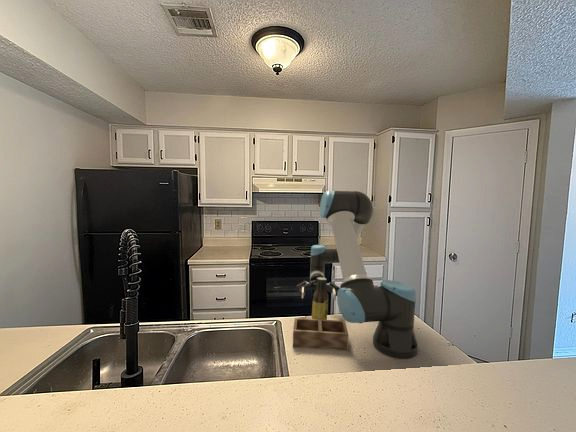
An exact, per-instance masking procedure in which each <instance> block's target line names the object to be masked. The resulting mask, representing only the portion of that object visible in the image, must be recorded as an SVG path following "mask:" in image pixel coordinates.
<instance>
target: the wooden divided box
mask: <svg viewBox="0 0 576 432" xmlns="http://www.w3.org/2000/svg"><path fill="white" fill-rule="evenodd" d="M348 345H349V332H348V327H347V324H346V320H337V319H336V320H335V319H334V320H333V319H327V320H321V319H312V318H301V317H295V318H294V320H293V329H292V347H293V348H299V349H300V348H301V349H304V348H306V349H315V350H316V349H318V350H331V351H332V350H333V351H344V352H345V351H346V352H348V349H349V346H348Z"/></svg>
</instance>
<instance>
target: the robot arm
mask: <svg viewBox="0 0 576 432" xmlns="http://www.w3.org/2000/svg"><path fill="white" fill-rule="evenodd" d="M373 213H374V206H373V202H372V200H371V199H370V197H369V196H368V195H367V194H366V193H364V192H361V191H358V190H353V191H351V190H346V191H344V190H335V189H334V190H326V191H325V192H323V194H322V196H321V200H320V206H319V215H320V217H321V218H323V219H326V223H327V224H328V225H329V226H331V229H332V230H331V231H332V234H333V239H334V243H335V248H326V246H325V245H322V244H314V245H312V246H311V248H310V268H309V269H310V270H309V282H308V281H307V280H305V279H304V280H303V281H302V282H300V283H298V284H297V285H296V286H295V292H299V294H300V295H301V299H304V293H305V292H307V291H309V290H310V291H312V290H315V291H316V290H317V278H318V277H322V278H326V277H325V266H326V264H339V268H340V271H341V275H342V282H341V283H340V285H339V286H338V285H337V284H335V283H333V282H332V281H329V283H326V292H328V293H331V294H332V299H333V301H337V307H338V310H339V312H340V314H341V317H342V318H343V319H344V321H345V322H348V323H350V324H364V323H372V322H373V323H375V322H376V323H377V322H378V323H377V326H376V328H375V330H374V333H373V335H372V345H373V346H374V347H375V349H376V350H377V351H378V352H381V353H382V354H384V355H385V356H389V357H392V358H395V359H396V358H397V359H410V358H413V357H415V356H416V355H418V349H419V345H418V344H419V343H418V341H417V338H416V333H415V330H414V325H415V312H416V311H415V309H416V302H417V300H416V290H415V289H414V288H413V287H412V286H410V285H409V284H406V283H404V282H400V281H396V280H389V279H384V280H382V281H381V282H380V286H375V285H374V284H375V283H374V281H373V279H372V278H371V277H369V276H368V275H367V272H366V267H365V264H364V260H363V257H362V253H361V249H360V245H359V241H358V238H359V237H360V235H361V233H362V231H363V229H364V228H365V226H366V225H367V224H369V223H370V222H371V219H372V217H373V215H374V214H373Z"/></svg>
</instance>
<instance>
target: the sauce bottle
mask: <svg viewBox="0 0 576 432" xmlns="http://www.w3.org/2000/svg"><path fill="white" fill-rule="evenodd" d="M327 282H328V279H327V278H326V277H325V278H322V277H318V278H317V290H315V291H314V293H312V294H313V295H312V297H313V298H312V306H311V319H321V320H328V310H329V309H328V308H329V294H328V291H326V283H327Z"/></svg>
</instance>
